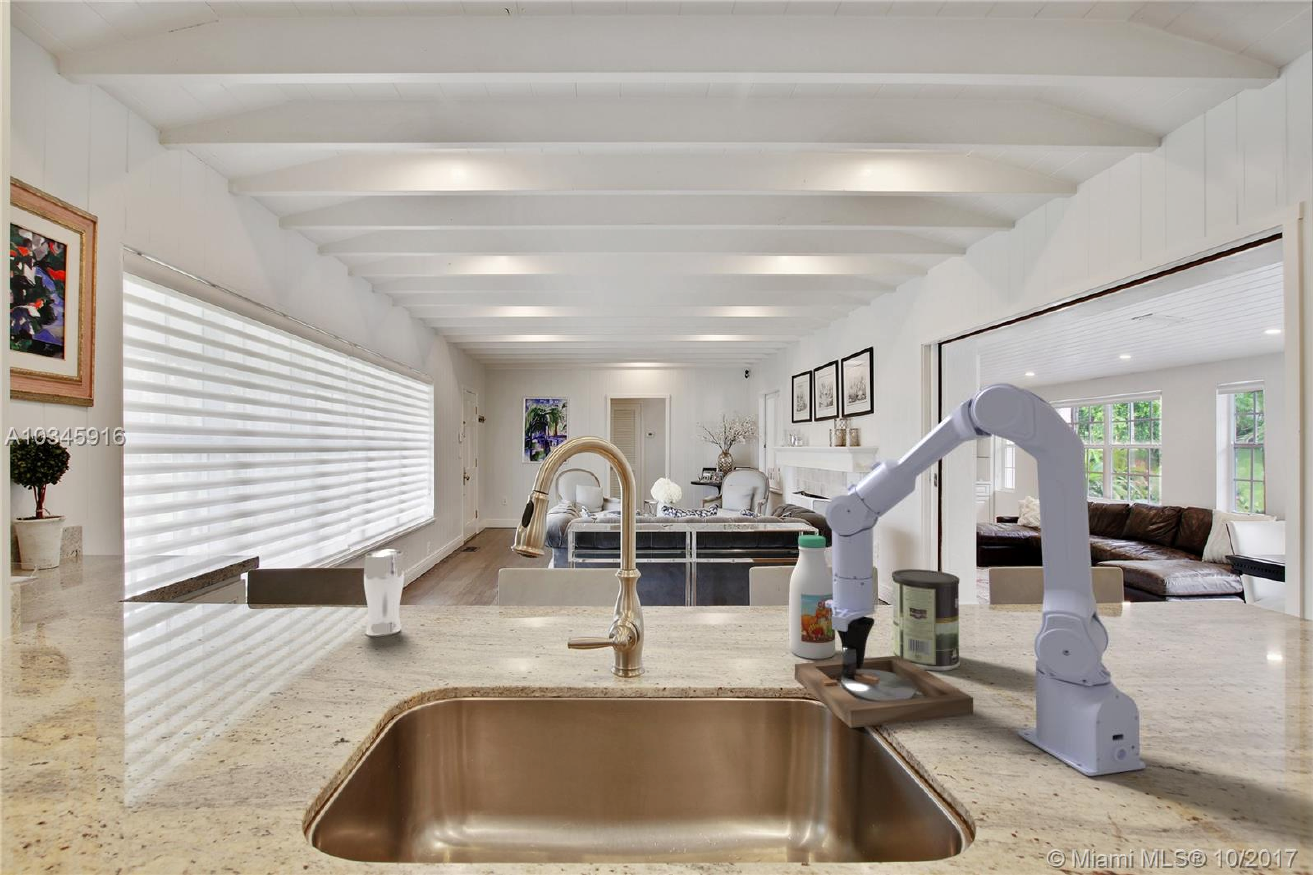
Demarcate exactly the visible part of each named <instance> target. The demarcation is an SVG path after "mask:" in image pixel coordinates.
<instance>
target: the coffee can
mask: <svg viewBox="0 0 1313 875" xmlns="http://www.w3.org/2000/svg"><path fill="white" fill-rule="evenodd" d="M891 578H892V624H893V626H892V633H893V634H892V635H893V636H892V638H893V639H892V640H893V641H892V644H893V645H892V646H893V647H892V648H893V650H892V651H893V652H892V656H901V657H903V658H904V659H906V660H908V661H910V662H911V663H913V664H915V665H917V666H918V667H920V668H922V669H924V670H925V671H937V672H938V671H941V672H942V671H943V672H944V671H946V672H947V671H952V670H956V669H958V668H959V666H960V665H961V662H960V632H959V631H960V626H959V624H960V623H959V622H960V621H959V619H960V611H959V610H960V607H959V605H960V604H959V602H960V600H959V598H960V597H959V596H960V595H959V594H960V593H959V592H960V591H959V590H960V589H959V585H960V577H959V576H956V575H954V574H951V573H948V572H944V571H938V570H931V569H920V568H919V569H914V568H913V569H899V570H894V571H893V572H891Z"/></svg>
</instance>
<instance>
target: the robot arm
mask: <svg viewBox="0 0 1313 875" xmlns="http://www.w3.org/2000/svg"><path fill="white" fill-rule="evenodd" d="M993 436H996V437H998V438H1002V439H1005V440H1008V441H1009V442H1012V443H1014V445H1016V446H1017V447H1018V448H1020V449H1022V450H1023V451H1024V452H1025V453H1027V454H1029V456H1031V457H1033V458H1034V459H1035V460H1036V468H1037V484H1038V502H1039V518H1040V536H1041V539H1040V540H1041V556H1042V558H1041V559H1042V572H1043V573H1042V574H1043V589H1044V590H1043V598H1042V599H1043V600H1042V608H1041V626H1040V629H1039V630H1038V633H1036V635H1035V637H1034V641H1033V648H1034V652H1035V656H1036V658H1037V660H1036V661H1035V710H1036V711H1035V712H1036V713H1035V726H1036V727H1035V728H1029V729H1022V730H1018V735H1019V736H1020V737H1021V738H1023V739H1024V740H1026V741H1028V742H1029V743H1031V744H1033V745H1035V746H1036V747H1038V748H1040V749H1042V750H1043V751H1045V752H1047V753H1048V754H1050V755H1051V756H1053V757H1054V758H1057V759H1058V760H1060V761H1062V762H1063V763H1065V764H1066V765H1069V766H1071V767H1072V768H1073V769H1075V770H1076V771H1078V772H1080V773H1082V774H1083V775H1086V776H1089V777H1092V776H1093V777H1094V776H1101V775H1108V774H1113V773H1114V774H1116V773H1120V772H1127V771H1128V772H1129V771H1134V770H1142V769H1145V768H1146V763H1145V762H1143V761H1141V760H1140V758H1141V756H1140V754H1141V752H1140V747H1141V746H1140V713H1139V709H1138V706H1137V704H1136V702H1135V701H1134V699H1133V698H1132V697H1130V695H1127V693H1125V692H1123V691H1122V690H1120V689H1118V688H1117V687H1116V686H1115V684H1114V683H1113V682H1112V680H1111V672H1110V671H1109V670H1107V667H1106V666H1105V665H1104V663H1103V661H1102V660H1103V658H1102V657H1103V655H1104V653H1105V651H1106V650H1107V649H1108V645H1109V640H1110V639H1109V633H1108V631H1107V629H1106V626H1105V625H1104V623H1103V622H1102V621H1101V619H1100V617H1099V614H1098V608H1097V607H1098V606H1097V600H1096V597H1095V593H1094V591H1093V590H1094V588H1093V572H1092V558H1091V556H1092V555H1091V538H1090V522H1089V521H1090V520H1089V509H1088V489H1087V475H1086V474H1087V473H1086V472H1087V471H1086V457H1085V444H1084V442H1083V439H1082V437H1081V436H1080V435H1079V434H1078V433H1077V432H1076V431H1075V430H1074V429H1073V427H1072V426H1071V425H1070V424H1069V423H1067V421H1066V420H1065V419H1064V418H1063V417H1062V416H1061V414H1060V413H1058V411H1057V410H1056V409H1055V408H1054V407H1053V405H1052V404H1051V402H1049V401H1048V400H1047V399H1045V398H1043V397H1041V396H1039V395H1037V394H1035V393H1034V392H1031V391H1029V390H1027V389H1024V388H1020V387H1018V386H1017V385H1014V384H1011V383H1007V382H1006V383H1005V382H997V383H996V382H995V383H991V384H989V385H985V387H983V388H982V389H980V390H979V391H978V392H977V393H976V394H975V395H974V398H972V397H971V398H968V399H966V400H965V401H963V402H962V403H960V404H959V405H958V406H957V407H956V408H955V409H954V410H953V411H952V412H950V413H949V414H948V415H947V416H946V417H945V418H944V419H943V420H941V421H940V423H938V424H937V425H936V426H935V427H934V428H933V429H932V430H931V431H929V432H928V433H927V434H926V435H925V436H924V437H923V438H922V439H921V440H920V441H919V442H917V443H916V444H915V445H914V446H913V447H911V449H910V450H909V451H908V452H906V453H905V454H904V455H902V457H900V459H898V460H895V459H885V460H883V461H882V462H880V461H876V462H874V463H873V464H872V465H870V467H869V468H870V470H871V471H870V472H869V473H868V474H866V475H865V476H864V477H863V478H862V479H860V480H859V482H857V483H856V484H855V483H854V484H853V483H851V484H849V486H848V487H847V488H846V489H847V491H848V492H847V494H839V495H835V496H833V497H832V499H831V500H830V501H829V503H827V505H826V508H825V511H824V512H825V514H824V515H825V516H824V517H825V520H826V523H827V525H828V527H829V528H830V529H831V542H832V543H831V553H832V555H831V559H832V560H831V561H832V562H831V563H832V564H831V565H832V572H831V575H832V577H833V600H827V601H826V602H825V607H829V608H832V612H833V615H832V629H833V630H835V631H836V632H837V633H838V636H839V637H840V638H839V639H840V642H841V647H842V646H844V645H850V646H854V647H856V648H857V669H860V668H861V667H862V665H863V662H864V658H865V655H866V647H867V641H868V639H869V638H868V637H869V635H870V632H871V630H872V628H873V626H874V625H875V618H873V617H870V615H873V614H874V613H875V611H876V609H875V608H876V607H875V604H874V576H873V575H874V572H873V568H874V567H873V566H874V565H873V562H874V561H873V528H874V527H875V526H876V525H877V523H878V521H879V518H882V517H883V515H886V513H888V512H889V511H891V509H893V508H894V507H895V506H896V505H898V504H899V503H900V502H901V501H904V500H905V499H906V498H907V497H908V496H909V495H911V494H912V493H913V492H914V491H915V488H916V483H917V482H916V481H917V477H918V476H919V475H921V474H922V473H924V472H925V471H927V470H928V469H929V468H931V467H932V466H933V465H934V464H936V463H937V462H939V461H940V460H941V459H943V458H944V457H945V456H947V455H948V454H950V453H951V452H952V451H954V450H955V449H957V448H958V447H959V446H960V445H962V444H964V443H965V442H970V441H977V440H980V439H986V438H991V437H993Z"/></svg>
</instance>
